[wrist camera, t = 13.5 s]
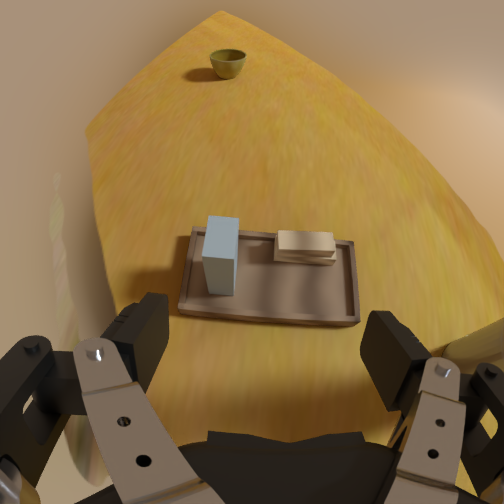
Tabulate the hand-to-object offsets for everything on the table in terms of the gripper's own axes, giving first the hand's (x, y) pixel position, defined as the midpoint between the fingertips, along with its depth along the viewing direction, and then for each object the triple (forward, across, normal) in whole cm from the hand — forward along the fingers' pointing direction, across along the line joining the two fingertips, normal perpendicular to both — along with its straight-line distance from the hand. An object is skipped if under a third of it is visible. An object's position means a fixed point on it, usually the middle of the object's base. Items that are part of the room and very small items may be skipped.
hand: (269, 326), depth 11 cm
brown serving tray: (+31, -3, +10) cm, 32 cm away
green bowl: (+74, +11, -33) cm, 82 cm away
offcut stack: (+32, -8, +6) cm, 34 cm away
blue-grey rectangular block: (+29, +4, +10) cm, 31 cm away
